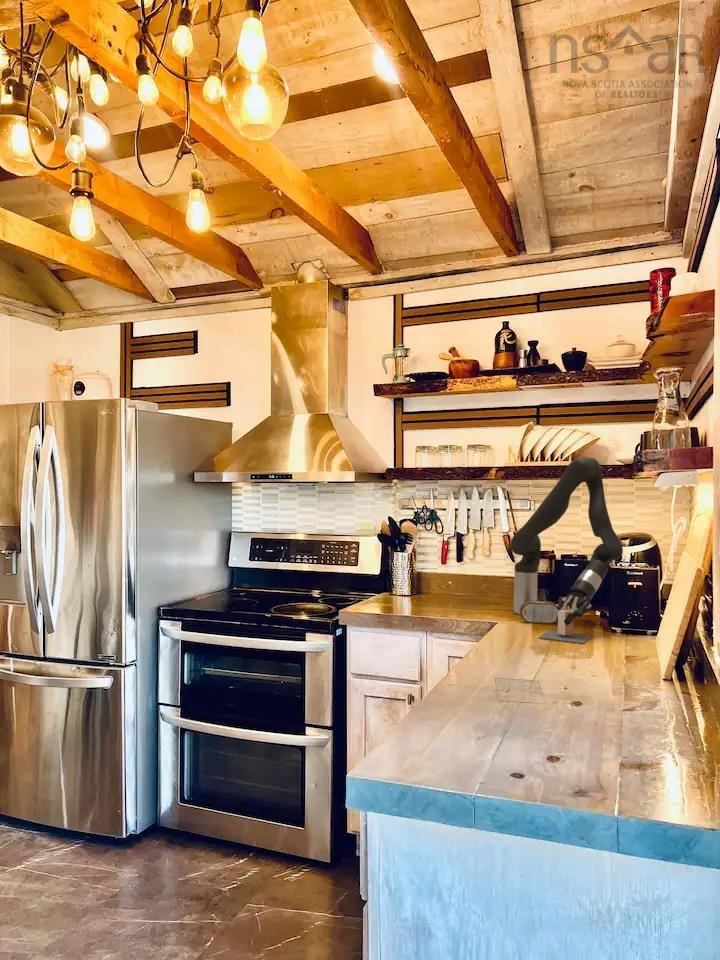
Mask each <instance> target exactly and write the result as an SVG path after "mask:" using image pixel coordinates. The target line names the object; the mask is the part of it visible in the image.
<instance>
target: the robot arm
mask: <svg viewBox="0 0 720 960" xmlns="http://www.w3.org/2000/svg"><path fill="white" fill-rule="evenodd" d="M603 481H604V480H603V473H602V468H601V465H600V463H599V462H598V460H597V459H595V458H593V457H579V458H575V459H573V460H571V462H569V464H568V465H567V467H566V468H565V470H564V472H563V473H562V475H561V477H560V478H559V480H558V482H557V483H556V484H555V486H554V487H553V488H552V489H551V491H550V492H549V493H548V495H546V497H545V498H544V499H543V500H542V502H541V504H540V505H539V506H538V508H537V509H535V511H534V513H533V514H532V515H531V516H530V518H528V520H527V521H526V522H525V524H523V525H522V527H521V528H520V529H518V531H516V533H515V534H514V535H513V536H512V538H511V541H510V550H511V552H512V553H513V554H515V555H517V556H522V558H521V559H520V560H519V561H518V562H516V563H515V564H514V580H513V581H514V583H513V584H514V586H513V613H514V614H516V613H517V615H520V607H521V605H522V604H523V603H524V602H526V601H538V573H539V572H538V569H539V566H540V563H541V550H542V549H541V548H542V544H541V539H540V537H539V534H541V533H542V532H544V531H546V530H548V529H549V528H551V527H552V526H554V525H555V524H556V523H558V521H559V520H560V519H561V518H562V517H563V516H564V515H565V513H566V512H567V510H568V508H569V506H570V505H569V504H570V499H571V496H572V494H573V493H574V492H575V490H576V489H577V488H578V487H579V486H580V485H581V484H582V483H585V484H586V486H587V490H588V493H589V502H588V519H589V523H590V527H591V530H592V533H593V535H594V536H595V537H597V538H600V539H601V541H602V542H601V543H600V544H598V545H597V546H596V548H595V549H594V551H593V552H592V554H591V557H590V560H589V563H588V564H587V565H586V566H585V569H584V570H582V573H580V575H579V576H578V578H576V580H575V582H574V584H572V587H571V589H570V593H569V594H567V596H564V597H563V596H562V595H561V596H559V598H558V602H557V606H558V607H557V609H558V610H566V609H567V610H571V611H570V614H568V616H567V617H566V619H565V620H564V623H565V624H566V625H569V624H570V623H571V622H572V620H573V621H574V619H575V618H577V617H578V618H582V617H583V616H584V615H585V614H586V613H588V611H591V609H593V606H592V605H591V603H590V601H591V600H592V598H594V596H595V594H596V592H597V591H598V589H599V588H600V586H601V583H602V582H603V580H604V579H605V577H606V575H607V574H608V571H609V567H608V564H609V563H611V562H613V561H616V560H620V559H621V558H622V556H623V552H624V549H623V543H622V542H621V540H620V539H619V537H618V535H617V533H616V532H615V530H614V529H613V525H612V521H611V519H610V515H609V513H608V508H607V503H606V497H605V496H606V495H605V491H604V490H605V489H604V482H603ZM556 622H557V623H558V616H557V617H556Z"/></svg>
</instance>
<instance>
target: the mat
mask: <svg viewBox="0 0 720 960" xmlns="http://www.w3.org/2000/svg"><path fill="white" fill-rule="evenodd" d="M592 636H593V635H592V634H585V633H576V632H573V634H568V635H562V634H558V630H553V629H548V630H546V631H545V632H544V633H543V634H541V635H540V636H539V637H538V639H539V640H546V641H553V640H554V642H560V641H562V642H561V643H568V642H569V644H576V643H578V644H577V645H583V644H584V645H585V644H586V643H587V642H588V641H589V640H590V639H591V638H592Z"/></svg>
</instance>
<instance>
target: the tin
mask: <svg viewBox="0 0 720 960" xmlns="http://www.w3.org/2000/svg"><path fill="white" fill-rule="evenodd" d="M557 607H558V604H556V602H553V601H545V600H543V601H542V600H537V601H526V602H524V603H523V604H522V605H521V607H520V614H519V615H520V617H521V618H522V620H524V622H526V623H528V622H529V623H530V624H541V625H552V624H554V623H556V622H557V621H556V617H557V616H558V609H557ZM529 623H528V624H529Z"/></svg>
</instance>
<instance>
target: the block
mask: <svg viewBox="0 0 720 960" xmlns="http://www.w3.org/2000/svg"><path fill="white" fill-rule="evenodd" d="M570 611H571V610H567V609H565V610H558V622H557V631H558V634H562V635H568V634H573V633H574V619H573V620H572V622H571V623H570V624H569V625H566V624H565V623H564V620H565V619H566V617H567V616H568V614H570Z"/></svg>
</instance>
